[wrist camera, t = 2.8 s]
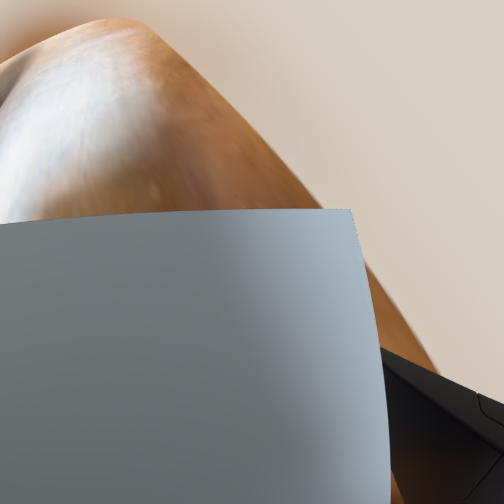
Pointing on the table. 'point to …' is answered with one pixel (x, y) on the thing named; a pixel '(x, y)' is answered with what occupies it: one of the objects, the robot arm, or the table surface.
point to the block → (190, 361)
